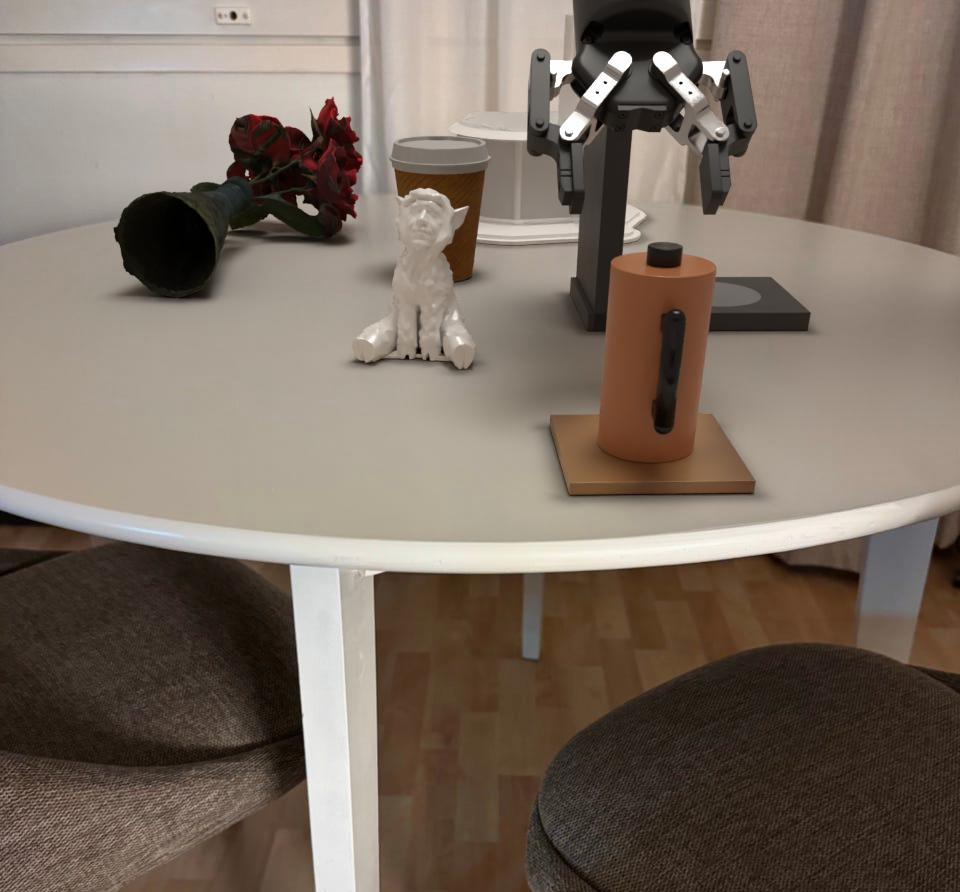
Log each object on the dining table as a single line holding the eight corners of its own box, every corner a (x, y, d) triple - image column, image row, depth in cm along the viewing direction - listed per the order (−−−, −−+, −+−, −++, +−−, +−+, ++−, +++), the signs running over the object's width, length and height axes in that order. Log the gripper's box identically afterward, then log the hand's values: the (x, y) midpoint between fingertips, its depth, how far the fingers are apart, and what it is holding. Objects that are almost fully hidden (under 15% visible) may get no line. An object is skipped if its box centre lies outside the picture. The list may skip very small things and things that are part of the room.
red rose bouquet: (201, 378, 101) (297, 268, 129) (334, 255, 93) (407, 165, 121) (70, 246, 95) (201, 160, 123) (200, 101, 87) (309, 44, 115)
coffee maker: (768, 292, 101) (811, 11, 88) (808, 330, 90) (864, 18, 78) (569, 292, 100) (585, 8, 88) (587, 331, 90) (608, 15, 77)
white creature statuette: (350, 363, 82) (341, 197, 75) (375, 331, 89) (369, 176, 82) (472, 370, 81) (473, 202, 74) (487, 337, 88) (489, 181, 81)
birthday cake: (365, 215, 129) (356, 9, 117) (533, 188, 145) (539, 5, 133) (540, 262, 110) (550, 22, 98) (710, 225, 126) (735, 15, 115)
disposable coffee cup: (503, 269, 107) (507, 139, 101) (463, 291, 100) (463, 152, 93) (420, 259, 110) (418, 132, 104) (374, 279, 103) (369, 144, 97)
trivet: (710, 424, 72) (712, 413, 72) (754, 493, 63) (756, 480, 62) (549, 425, 71) (549, 414, 71) (569, 495, 62) (569, 482, 62)
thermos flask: (682, 426, 69) (705, 234, 63) (710, 475, 63) (739, 266, 56) (591, 427, 69) (605, 233, 63) (610, 476, 62) (627, 266, 56)
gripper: (526, -64, 65) (537, 168, 62) (753, -62, 66) (777, 168, 63) (516, 30, 73) (526, 242, 69) (721, 31, 73) (741, 242, 70)
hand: (645, 207), depth 66 cm, fingers open, 8 cm apart
